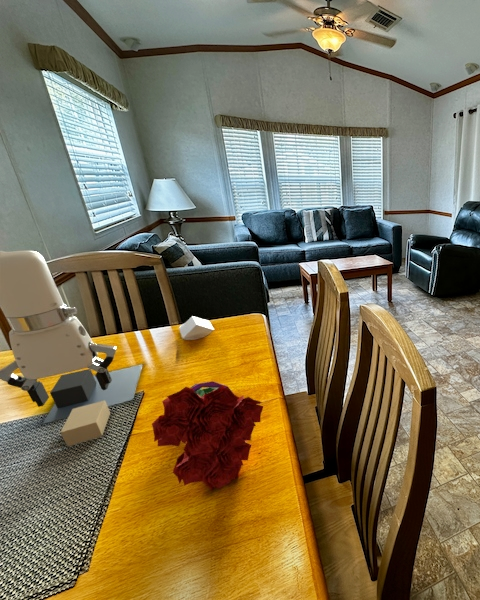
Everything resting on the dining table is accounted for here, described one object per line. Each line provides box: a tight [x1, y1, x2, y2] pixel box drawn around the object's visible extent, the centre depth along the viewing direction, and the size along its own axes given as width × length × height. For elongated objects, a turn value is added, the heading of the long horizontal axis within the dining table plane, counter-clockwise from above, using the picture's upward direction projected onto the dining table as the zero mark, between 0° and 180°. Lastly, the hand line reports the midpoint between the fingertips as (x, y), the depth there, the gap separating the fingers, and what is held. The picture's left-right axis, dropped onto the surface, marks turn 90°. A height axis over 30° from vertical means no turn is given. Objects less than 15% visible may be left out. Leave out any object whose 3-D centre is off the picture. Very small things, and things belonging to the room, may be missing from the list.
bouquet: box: [151, 380, 264, 491], centre depth 67 cm, size 20×16×30 cm
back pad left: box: [49, 368, 96, 408], centre depth 80 cm, size 6×8×4 cm
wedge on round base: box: [178, 315, 215, 341], centre depth 110 cm, size 9×7×13 cm
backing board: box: [41, 363, 144, 425], centre depth 82 cm, size 16×18×1 cm
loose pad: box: [60, 401, 111, 447], centre depth 70 cm, size 6×8×4 cm
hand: (76, 394), depth 67 cm, fingers open, 9 cm apart
